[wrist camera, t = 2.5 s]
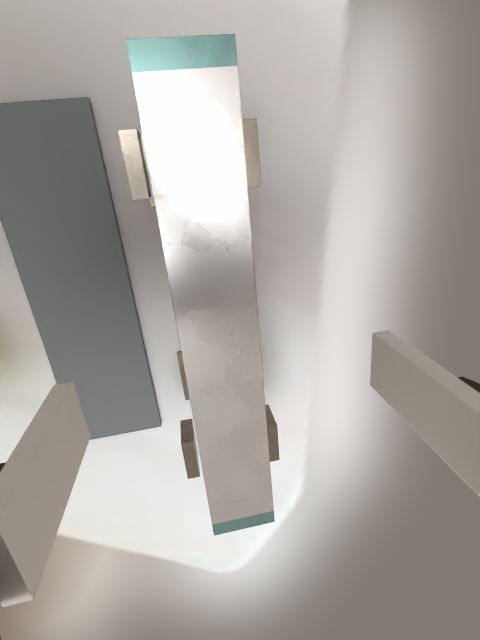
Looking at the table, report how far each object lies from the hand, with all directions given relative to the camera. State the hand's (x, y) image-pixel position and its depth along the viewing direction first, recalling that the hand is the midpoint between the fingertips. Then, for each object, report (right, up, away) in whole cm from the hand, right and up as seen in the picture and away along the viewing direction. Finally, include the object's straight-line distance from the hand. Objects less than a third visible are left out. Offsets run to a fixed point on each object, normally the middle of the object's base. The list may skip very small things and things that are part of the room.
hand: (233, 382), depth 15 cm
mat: (-13, +5, +14) cm, 20 cm away
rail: (-1, +3, +7) cm, 8 cm away
